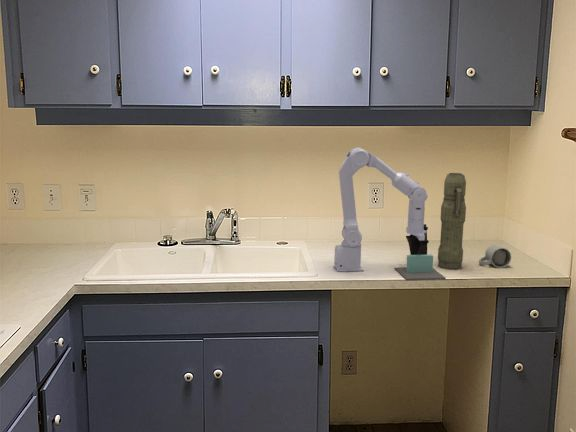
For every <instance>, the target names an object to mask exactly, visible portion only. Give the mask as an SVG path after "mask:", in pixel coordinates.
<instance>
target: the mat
mask: <svg viewBox="0 0 576 432" xmlns="http://www.w3.org/2000/svg"><path fill="white" fill-rule="evenodd" d="M393 269H394V271H395V272H397V273H398V275H400V276H401V277H402V278H404V280H405V281H431V280H432V281H433V280H435V281H436V280H446V279H447V277H446V276H444V275H443V274H442V273H440V272H439V271H437V270H436V269H435V268H433V270H432V272H419V273H408V272H407V271H406V267H403V266H402V267H401V266H400V267H394V268H393Z"/></svg>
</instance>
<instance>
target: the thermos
mask: <svg viewBox="0 0 576 432" xmlns="http://www.w3.org/2000/svg"><path fill="white" fill-rule="evenodd" d="M443 182H444V185H443V195H444V196H443V198H442V199H443V201H442V203H441V206H440V207H441V208H440V218H439V219H440V222H441V226H440V240H439V242H440V243H439V246H438V249H437V250H438V252H437V261H438V262H437V267H439V268H440V269H444V270H451V271H452V270H453V271H455V270H461V269H462V267H463V265H462V264H463V263H462V262H463V259H464V249H463V237H464V224H465V222H466V213H467V205H466V201H465V200H466V198H465V196H466V188H467V179H466V177H465V174H463V173H460V172H449V173H447V174H446V177H445V179H444V181H443Z"/></svg>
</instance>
